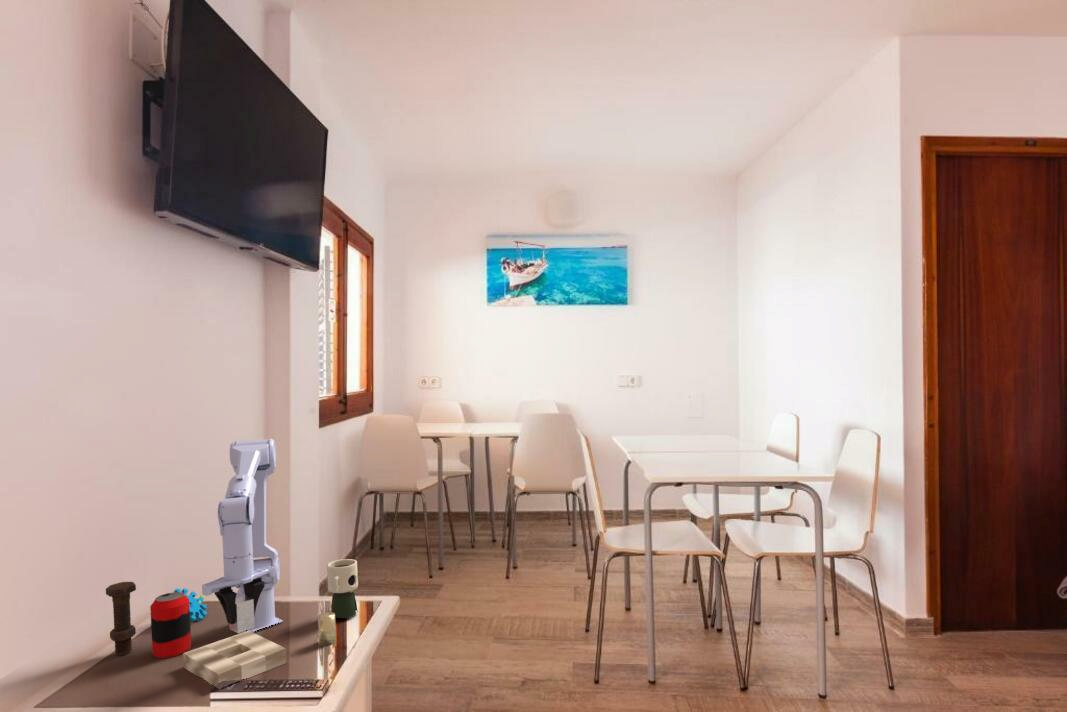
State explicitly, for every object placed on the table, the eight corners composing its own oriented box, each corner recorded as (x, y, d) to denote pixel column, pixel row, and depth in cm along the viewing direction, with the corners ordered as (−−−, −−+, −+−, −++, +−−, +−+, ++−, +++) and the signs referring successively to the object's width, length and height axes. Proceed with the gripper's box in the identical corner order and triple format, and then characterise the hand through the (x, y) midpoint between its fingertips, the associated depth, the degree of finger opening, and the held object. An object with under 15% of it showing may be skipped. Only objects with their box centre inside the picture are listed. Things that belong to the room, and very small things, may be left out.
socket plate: (183, 667, 141) (183, 653, 141) (249, 643, 152) (248, 630, 152) (219, 689, 131) (218, 674, 131) (286, 662, 142) (285, 648, 142)
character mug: (351, 625, 160) (349, 569, 160) (322, 625, 161) (319, 570, 161) (365, 607, 171) (363, 556, 171) (337, 608, 172) (335, 556, 172)
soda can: (180, 641, 155) (178, 588, 155) (198, 648, 151) (195, 594, 151) (146, 653, 149) (143, 599, 149) (163, 661, 145) (160, 605, 145)
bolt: (123, 659, 147) (120, 590, 147) (103, 658, 148) (100, 589, 148) (143, 648, 152) (140, 581, 152) (124, 647, 153) (121, 580, 153)
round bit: (316, 643, 151) (314, 616, 151) (330, 637, 154) (329, 610, 154) (325, 647, 149) (323, 619, 149) (339, 641, 151) (338, 614, 151)
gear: (190, 621, 162) (165, 590, 164) (174, 639, 163) (148, 608, 165) (218, 610, 173) (194, 581, 175) (203, 627, 173) (179, 598, 175)
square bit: (229, 629, 142) (228, 600, 142) (246, 623, 145) (244, 595, 145) (237, 633, 140) (236, 604, 140) (254, 627, 143) (253, 598, 143)
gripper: (212, 567, 134) (215, 635, 134) (280, 549, 146) (283, 612, 146) (196, 561, 139) (199, 627, 139) (263, 544, 150) (266, 606, 150)
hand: (241, 619), depth 143 cm, fingers closed on square bit, 4 cm apart
